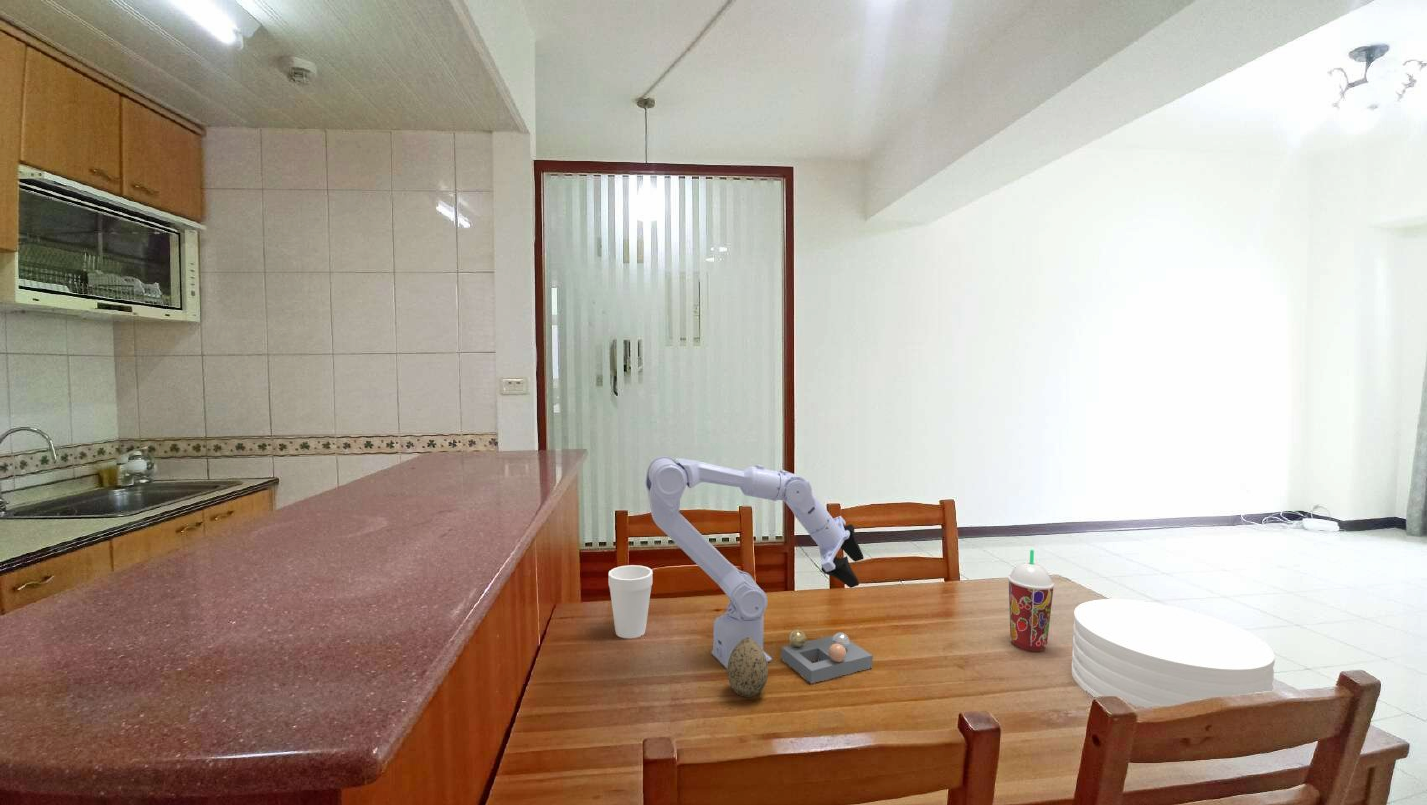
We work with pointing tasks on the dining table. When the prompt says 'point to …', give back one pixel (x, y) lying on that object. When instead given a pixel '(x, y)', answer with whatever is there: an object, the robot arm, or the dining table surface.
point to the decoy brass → (797, 638)
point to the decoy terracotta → (837, 652)
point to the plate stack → (1164, 654)
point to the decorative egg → (747, 668)
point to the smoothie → (1030, 605)
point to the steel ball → (841, 639)
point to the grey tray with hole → (825, 660)
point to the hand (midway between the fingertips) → (857, 572)
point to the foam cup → (630, 599)
